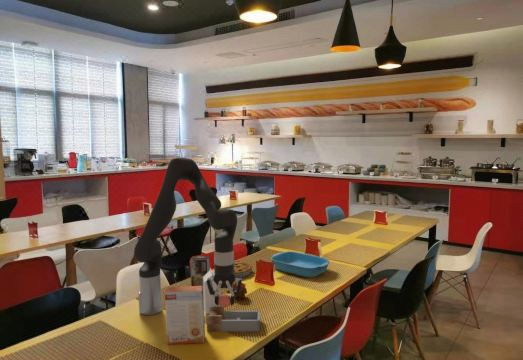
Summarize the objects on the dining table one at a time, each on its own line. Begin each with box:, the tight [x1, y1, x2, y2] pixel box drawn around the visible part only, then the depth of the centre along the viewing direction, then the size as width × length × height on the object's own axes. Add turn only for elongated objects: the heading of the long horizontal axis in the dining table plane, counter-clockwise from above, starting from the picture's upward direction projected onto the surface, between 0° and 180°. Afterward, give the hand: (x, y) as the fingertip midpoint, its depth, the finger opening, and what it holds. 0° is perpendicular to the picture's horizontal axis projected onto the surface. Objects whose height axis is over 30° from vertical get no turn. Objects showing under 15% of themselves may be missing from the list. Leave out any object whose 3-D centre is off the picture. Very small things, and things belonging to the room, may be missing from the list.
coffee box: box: [189, 255, 211, 286], centre depth 207 cm, size 9×6×16 cm
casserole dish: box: [270, 251, 330, 278], centre depth 233 cm, size 37×22×7 cm, turn 49°
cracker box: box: [164, 285, 206, 345], centre depth 153 cm, size 14×6×21 cm, turn 92°
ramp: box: [206, 306, 226, 332], centre depth 165 cm, size 7×9×6 cm
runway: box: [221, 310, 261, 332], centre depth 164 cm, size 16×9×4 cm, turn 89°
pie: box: [234, 260, 253, 279], centre depth 229 cm, size 22×22×5 cm
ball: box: [218, 293, 231, 308], centre depth 152 cm, size 5×5×5 cm
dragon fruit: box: [226, 281, 248, 300], centre depth 194 cm, size 8×8×12 cm
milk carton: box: [203, 267, 222, 315], centre depth 179 cm, size 7×7×19 cm
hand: (224, 304), depth 152 cm, fingers closed on ball, 5 cm apart
